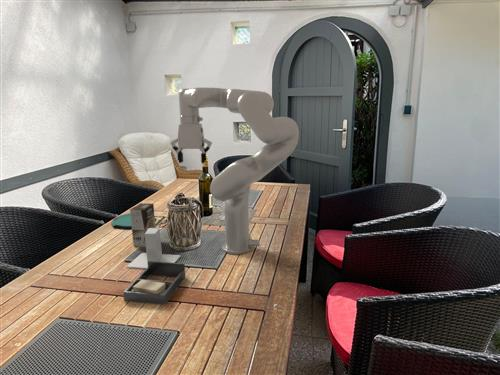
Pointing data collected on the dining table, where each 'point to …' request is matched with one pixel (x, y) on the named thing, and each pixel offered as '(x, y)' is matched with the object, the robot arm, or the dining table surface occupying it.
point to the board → (142, 263)
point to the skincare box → (153, 244)
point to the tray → (157, 270)
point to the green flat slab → (128, 221)
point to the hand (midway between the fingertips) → (192, 162)
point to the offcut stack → (149, 287)
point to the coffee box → (141, 222)
